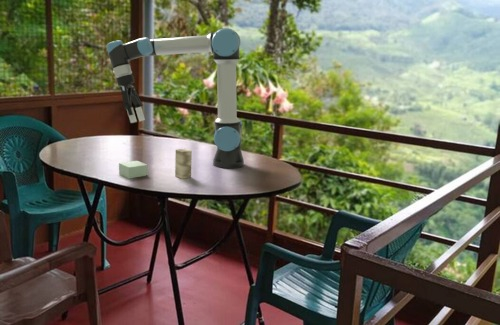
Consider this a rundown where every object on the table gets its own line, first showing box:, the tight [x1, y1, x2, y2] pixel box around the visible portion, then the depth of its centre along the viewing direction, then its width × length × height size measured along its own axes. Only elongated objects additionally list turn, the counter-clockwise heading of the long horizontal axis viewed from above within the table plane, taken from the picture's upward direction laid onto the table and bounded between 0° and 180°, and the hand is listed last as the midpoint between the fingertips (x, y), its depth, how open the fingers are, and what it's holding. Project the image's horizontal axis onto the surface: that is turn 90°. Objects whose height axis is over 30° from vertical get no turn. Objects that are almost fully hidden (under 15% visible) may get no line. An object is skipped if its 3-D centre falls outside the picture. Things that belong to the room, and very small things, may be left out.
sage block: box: [118, 160, 149, 179], centre depth 226 cm, size 9×9×5 cm
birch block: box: [174, 148, 193, 180], centre depth 225 cm, size 5×5×12 cm
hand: (138, 121), depth 232 cm, fingers open, 13 cm apart
